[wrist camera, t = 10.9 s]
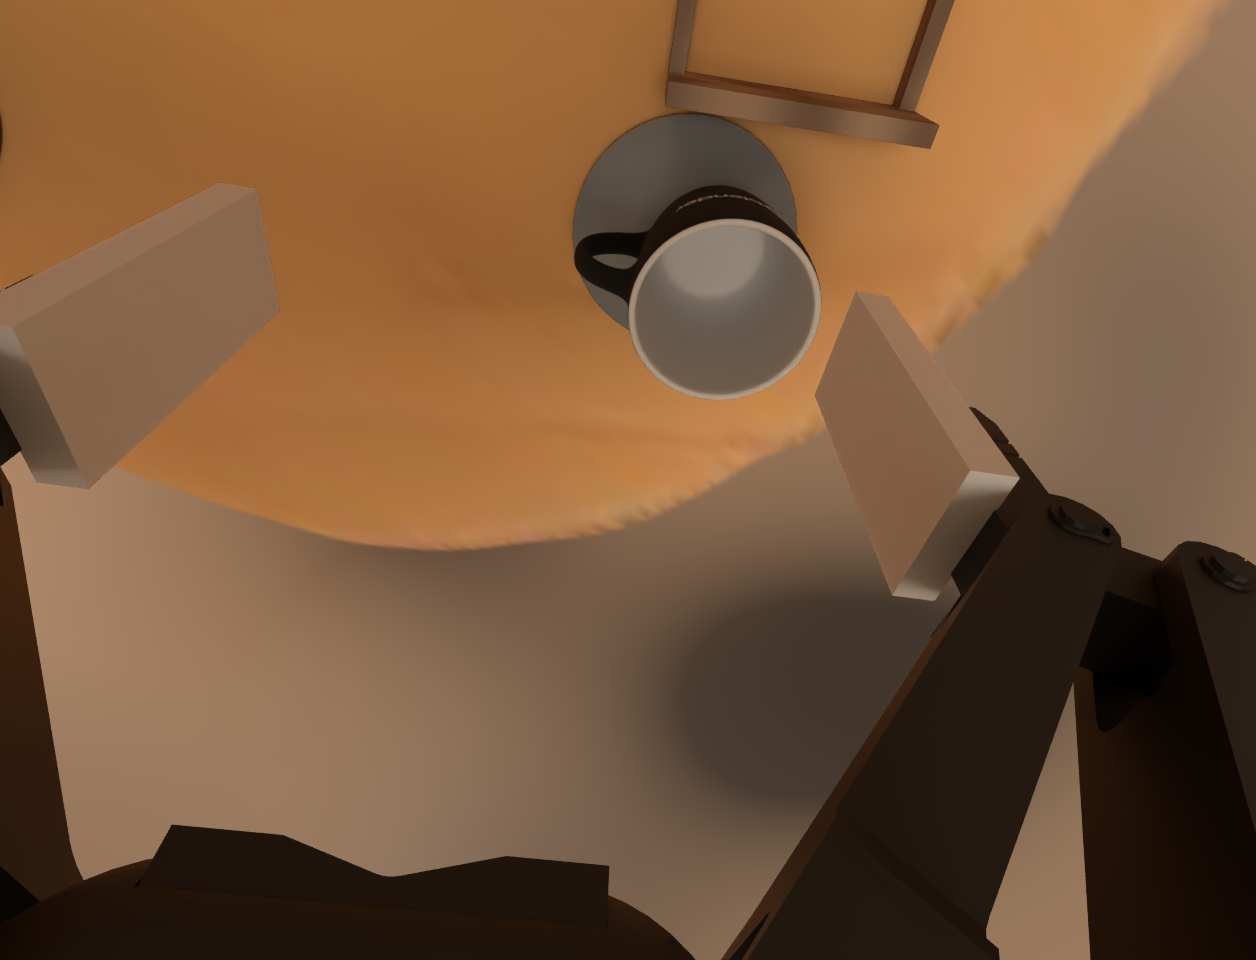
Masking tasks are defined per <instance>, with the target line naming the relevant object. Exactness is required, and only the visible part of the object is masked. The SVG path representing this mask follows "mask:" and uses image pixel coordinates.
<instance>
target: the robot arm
mask: <svg viewBox="0 0 1256 960" xmlns="http://www.w3.org/2000/svg"><path fill="white" fill-rule="evenodd" d="M279 312H280V308H279V303H278V298H277V293H276V287H275V282H274V277H273V271H272V266H271V261H270V256H269V250H268V245H267V240H266V234H265V229H264V224H263V218H262V213H261V208H260V203H259V197H258V192H257V189H254V188H248V187H242V186H237V185H231V184H225V183H217V184H215V185H213V186H211V187H209V188H207V189H205V190H203V191H201V192H199V193H197V194H195V195H193V196H191V197H189V198H187V199H185V200H183V201H181V202H179V203H177V204H175V205H173V206H171V207H169V208H167V209H165V210H163V211H161V212H159V213H157V214H155V215H153V216H151V217H149V218H147V219H145V220H143V221H141V222H139V223H137V224H135V225H133V226H131V227H129V228H127V229H125V230H123V231H121V232H119V233H117V234H115V235H113V236H111V237H109V238H107V239H105V240H103V241H101V242H99V243H97V244H95V245H93V246H91V247H89V248H87V249H85V250H83V251H81V252H79V253H77V254H75V255H73V256H71V257H69V258H67V259H65V260H63V261H61V262H59V263H57V264H55V265H53V266H51V267H49V268H47V269H45V270H43V271H41V272H39V273H37V274H35V275H31V276H29V277H27V278H25V279H23V280H21V281H19V282H17V283H15V284H13V285H11V286H9V287H7V288H5V290H3V291H0V466H1V465H3V464H4V463H5V462H7V461H8V460H9V459H10V458H12V457H13V456H14V455H16V454H17V453H18V452H19V451H20V452H21V454H22V455H23V457H24V459H25V461H26V463H27V464H28V467H29V469H30V470H31V472H32V474H33V476H34V478H35V480H36V482H39V483H47V484H54V485H62V486H69V487H77V488H84V489H89V488H90V487H91V486H93V485H94V484H95V483H96V482H97V481H98V480H99V479H100V478H101V477H102V476H103V475H104V474H105V473H107V472H108V471H109V470H110V469H111V468H112V467H113V466H114V465H115V464H116V463H117V462H118V461H120V460H121V459H122V458H123V457H124V456H125V455H126V454H127V453H128V452H129V451H130V450H131V449H132V448H134V447H135V446H136V445H137V444H138V443H139V442H140V441H141V440H142V439H143V438H144V437H145V436H146V435H147V434H149V433H150V432H151V431H152V430H153V429H154V428H155V427H156V426H157V425H158V424H159V423H160V422H161V421H163V420H164V419H165V418H166V417H167V416H168V415H169V414H170V413H171V412H172V411H173V410H174V409H175V408H177V407H178V406H179V405H180V404H181V403H182V402H183V401H184V400H185V399H186V398H187V397H188V396H189V395H191V394H192V393H193V392H194V391H195V390H196V389H197V388H198V387H199V386H200V385H201V384H202V383H203V382H204V381H206V380H207V379H208V378H209V377H210V376H211V375H212V374H213V373H214V372H215V371H216V370H217V369H218V368H220V367H221V366H222V365H223V364H224V363H225V362H226V361H227V360H228V359H229V358H230V357H231V356H232V355H234V354H235V353H236V352H237V351H238V350H239V349H240V348H241V347H242V346H243V345H244V344H245V343H246V342H247V341H249V340H250V339H251V338H252V337H253V336H254V335H255V334H256V333H257V332H258V331H259V330H260V329H261V328H263V327H264V326H265V325H266V324H267V323H268V322H269V321H270V320H271V319H272V318H273V317H274V316H275V315H277V314H278V313H279ZM815 397H816V399H817V402H818V404H819V407H820V410H821V412H822V415H823V417H824V420H825V423H826V425H827V428H828V430H829V433H830V436H831V438H832V441H833V443H834V446H835V448H836V451H837V454H838V456H839V459H840V461H841V464H842V467H843V469H844V472H845V474H846V477H847V480H848V482H849V485H850V487H851V490H852V492H853V495H854V497H855V500H856V503H857V505H858V508H859V510H860V513H861V516H862V518H863V521H864V524H865V526H866V529H867V531H868V534H869V536H870V539H871V542H872V544H873V547H874V549H875V552H876V555H877V557H878V560H879V562H880V565H881V567H882V570H883V573H884V575H885V578H886V580H887V583H888V586H889V588H890V591H891V593H892V595H894V596H901V597H909V598H916V599H924V600H931V601H935V599H936V598H937V597H938V595H939V594H940V592H941V591H942V589H943V588H944V586H945V585H946V584H947V582H948V581H949V579H950V578H951V576H952V577H953V579H954V581H955V583H956V585H957V587H958V589H959V591H960V594H961V595H960V597H959V598H958V599H957V601H956V602H955V603H954V605H953V606H952V608H951V609H950V610H949V612H948V613H947V614H946V616H945V617H944V619H943V620H942V621H941V623H940V624H939V625H938V627H937V628H936V630H935V631H934V632H933V634H932V635H931V640H930V641H929V643H928V644H927V646H926V648H925V649H924V651H923V652H922V654H921V655H920V657H919V658H918V660H917V661H916V663H915V665H914V666H913V668H912V669H911V671H910V672H909V674H908V675H907V677H906V678H905V680H904V682H903V683H902V685H901V686H900V688H899V689H898V691H897V692H896V694H895V696H894V697H893V699H892V700H891V702H890V703H889V705H888V706H887V708H886V709H885V711H884V712H883V714H882V715H881V717H880V719H879V720H878V722H877V723H876V725H875V726H874V728H873V729H872V731H871V732H870V734H869V736H868V737H867V739H866V740H865V742H864V743H863V745H862V746H861V748H860V750H859V751H858V753H857V754H856V756H855V757H854V759H853V760H852V762H851V763H850V765H849V766H848V768H847V769H846V771H845V773H844V774H843V776H842V777H841V779H840V780H839V782H838V783H837V785H836V786H835V788H834V789H833V791H832V793H831V794H830V796H829V797H828V799H827V800H826V802H825V804H824V805H823V806H822V808H821V810H820V811H819V813H818V814H817V816H816V817H815V819H814V820H813V822H812V823H811V825H810V826H809V828H808V830H807V831H806V833H805V834H804V836H803V837H802V839H801V840H800V842H799V844H798V845H797V847H796V848H795V850H794V851H793V853H792V854H791V856H790V857H789V859H788V860H787V862H786V864H785V865H784V867H783V868H782V870H781V871H780V873H779V874H778V876H777V877H776V879H775V881H774V882H773V884H772V885H771V887H770V888H769V890H768V891H767V893H766V894H765V896H764V897H763V899H762V901H761V902H760V904H759V905H758V907H757V908H756V910H755V911H754V913H753V914H752V916H751V917H750V919H749V920H748V922H747V923H746V925H745V926H744V928H743V929H742V930H741V932H740V933H739V935H738V936H737V937H736V939H735V940H734V942H733V943H732V944H731V946H730V947H729V949H728V950H727V952H726V953H725V955H724V956H723V958H722V959H721V960H1000V959H999V949H998V948H997V947H996V946H995V945H994V944H992V943H991V942H990V941H989V940H988V939H987V938H986V928H987V924H988V920H989V916H990V913H991V910H992V908H993V905H994V902H995V899H996V897H997V894H998V891H999V888H1000V885H1001V882H1002V880H1003V877H1004V874H1005V871H1006V869H1007V865H1008V863H1009V860H1010V857H1011V854H1012V852H1013V849H1014V846H1015V843H1016V840H1017V838H1018V835H1019V832H1020V829H1021V827H1022V824H1023V821H1024V818H1025V815H1026V812H1027V810H1028V807H1029V804H1030V801H1031V799H1032V796H1033V793H1034V790H1035V787H1036V784H1037V782H1038V779H1039V776H1040V773H1041V771H1042V768H1043V765H1044V762H1045V759H1046V757H1047V754H1048V751H1049V748H1050V745H1051V743H1052V739H1053V737H1054V734H1055V731H1056V729H1057V726H1058V723H1059V720H1060V717H1061V715H1062V712H1063V709H1064V706H1065V703H1066V701H1067V698H1068V695H1069V692H1070V689H1071V687H1072V683H1073V682H1074V698H1075V715H1076V731H1077V747H1078V763H1079V780H1080V795H1081V812H1082V828H1083V844H1084V861H1085V877H1086V893H1087V910H1088V926H1089V940H1090V941H1089V942H1090V958H1091V960H1256V566H1255V565H1254V564H1252V563H1251V562H1249V561H1244V559H1245V558H1242V557H1241V556H1239V555H1237V554H1235V553H1232V552H1227V551H1225V550H1223V549H1221V548H1219V547H1216V546H1212V545H1209V544H1206V543H1202V542H1193V541H1185V542H1183V543H1182V544H1179V545H1178V546H1177V547H1176V548H1175V549H1174V550H1173V551H1172V552H1171V553H1170V554H1169V555H1168V556H1167V557H1166V558H1165V559H1164V560H1163V561H1160V560H1157V559H1154V558H1151V557H1149V556H1146V555H1143V554H1140V553H1137V552H1134V551H1131V550H1128V549H1125V548H1122V547H1121V537H1120V535H1119V534H1118V532H1117V531H1116V530H1115V528H1114V527H1113V525H1111V524H1110V523H1109V522H1108V521H1107V520H1106V519H1105V518H1103V517H1102V516H1101V515H1100V514H1098V513H1097V512H1095V511H1093V510H1092V509H1090V508H1088V507H1086V506H1085V505H1083V504H1081V503H1079V502H1076V501H1074V500H1071V499H1069V498H1066V497H1062V496H1058V495H1052V494H1049V493H1048V492H1047V491H1046V489H1045V488H1044V487H1043V485H1042V484H1041V483H1040V481H1039V480H1038V479H1037V477H1036V476H1035V475H1034V473H1033V472H1032V471H1031V469H1030V468H1029V467H1028V466H1027V464H1026V463H1025V462H1024V460H1023V459H1022V458H1019V454H1018V452H1017V451H1016V450H1015V448H1014V447H1013V446H1012V444H1008V442H1009V441H1008V439H1007V438H1006V437H1005V435H1004V434H1003V433H1002V431H1001V430H1000V429H999V427H998V426H997V425H996V424H995V423H994V422H993V421H991V420H990V419H989V418H987V417H986V416H985V415H983V414H982V413H981V412H980V411H978V410H977V409H976V408H972V407H968V406H967V404H966V403H965V402H964V401H963V399H962V397H961V396H960V395H959V393H958V392H957V390H956V389H955V388H954V386H953V385H952V384H951V382H950V381H949V379H948V378H947V377H946V375H945V374H944V373H943V371H942V370H941V369H940V367H939V366H938V364H937V363H936V362H935V360H934V359H933V357H932V356H931V355H930V353H929V352H928V351H927V349H926V348H925V346H924V345H923V344H922V342H921V341H920V339H919V338H918V337H917V335H916V334H915V333H914V331H913V330H912V328H911V327H910V326H909V324H908V323H907V322H906V320H905V319H904V317H903V316H902V315H901V313H900V312H899V311H898V309H897V308H896V306H895V305H894V304H893V302H892V301H891V299H890V298H889V297H888V296H882V295H876V294H870V293H865V292H859V291H856V292H855V295H854V297H853V300H852V302H851V305H850V307H849V310H848V312H847V315H846V318H845V320H844V323H843V325H842V328H841V330H840V333H839V335H838V338H837V340H836V343H835V345H834V348H833V350H832V353H831V355H830V358H829V360H828V363H827V365H826V368H825V370H824V373H823V375H822V378H821V380H820V383H819V385H818V388H817V391H816V393H815ZM608 882H609V866H605V865H595V864H585V863H574V862H563V861H553V860H542V859H532V858H521V857H510V856H505V857H499V858H494V859H488V860H483V861H477V862H472V863H467V864H462V865H456V866H451V867H445V868H440V869H434V870H429V871H424V872H418V873H413V874H408V875H402V876H395V877H387V876H381V875H378V874H375V873H373V872H371V871H368V870H366V869H363V868H361V867H359V866H356V865H353V864H351V863H349V862H347V861H344V860H342V859H339V858H337V857H335V856H332V855H330V854H327V853H325V852H323V851H320V850H318V849H315V848H313V847H310V846H308V845H306V844H303V843H301V842H299V841H296V840H294V839H291V838H289V837H286V836H284V835H276V834H266V833H255V832H245V831H234V830H224V829H213V828H203V827H191V826H181V825H171V827H170V829H169V831H168V833H167V834H166V836H165V838H164V840H163V842H162V843H161V845H160V847H159V849H158V851H157V852H156V854H155V856H154V858H153V859H147V860H143V861H140V862H136V863H133V864H129V865H126V866H122V867H119V868H115V869H112V870H109V871H107V872H104V873H102V874H99V875H96V876H94V877H91V878H89V879H86V880H83V878H82V876H81V874H80V872H79V870H78V867H77V865H76V862H75V859H74V856H73V853H72V849H71V845H70V840H69V834H68V828H67V821H66V815H65V810H64V804H63V797H62V791H61V785H60V779H59V773H58V767H57V761H56V755H55V749H54V743H53V737H52V731H51V725H50V718H49V712H48V707H47V701H46V694H45V689H44V682H43V676H42V670H41V664H40V658H39V652H38V646H37V640H36V634H35V628H34V622H33V616H32V610H31V604H30V597H29V592H28V586H27V580H26V573H25V567H24V562H23V555H22V549H21V543H20V537H19V532H18V525H17V519H16V513H15V507H14V501H13V495H12V489H11V485H10V483H9V481H8V480H7V478H6V476H5V474H4V473H3V471H2V469H1V467H0V960H695V959H694V957H693V956H692V955H691V954H690V953H689V952H688V951H687V950H686V949H685V948H684V947H683V946H682V945H681V944H680V943H679V942H678V941H677V940H676V939H675V938H674V937H673V936H672V935H671V934H670V933H669V932H668V931H667V930H665V929H664V928H663V927H661V926H660V925H659V924H658V923H656V922H655V921H654V920H652V919H651V918H650V917H649V916H647V915H645V914H644V913H642V912H640V911H639V910H637V909H635V908H634V907H632V906H630V905H629V904H627V903H625V902H623V901H621V900H618V899H616V898H614V897H611V896H609V895H608Z"/></svg>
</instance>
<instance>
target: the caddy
mask: <svg viewBox="0 0 1256 960" xmlns="http://www.w3.org/2000/svg"><path fill="white" fill-rule="evenodd" d="M953 3H954V0H928V3H927V5H926V8H925V11H924V14H923V17H922V20H921V23H920V26H919V29H918V32H917V35H916V38H915V41H914V44H913V47H912V50H911V53H910V56H909V58H908V61H907V64H906V67H905V70H904V73H903V76H902V79H901V82H900V85H899V88H898V91H897V94H896V97H895V100H894V103H893V105H887V104H881V103H875V102H869V101H863V100H857V99H851V98H845V97H838V96H832V95H826V94H820V93H814V92H808V91H802V90H796V89H790V88H784V87H777V86H771V85H765V84H759V83H753V82H747V81H741V80H735V79H729V78H723V77H716V76H710V75H704V74H698V73H692V72H686V71H685V69H686V63H687V56H688V50H689V44H690V38H691V31H692V25H693V19H694V13H695V6H696V0H679V2H678V9H677V16H676V23H675V30H674V36H673V43H672V50H671V57H670V64H669V71H668V77H667V84H666V91H665V106H666V107H673V108H679V109H685V110H691V111H697V112H704V113H710V114H716V115H722V116H728V117H735V118H741V119H747V120H753V121H759V122H766V123H772V124H778V125H784V126H790V127H797V128H803V129H809V130H815V131H821V132H828V133H834V134H840V135H846V136H852V137H859V138H865V139H871V140H877V141H883V142H890V143H896V144H902V145H908V146H914V147H921V148H927V149H930V148H931V146H932V143H933V141H934V138H935V135H936V133H937V130H938V128H939V125H938V124H936V123H934V122H933V121H931V120H929V119H927V118H925V117H923V116H922V115H920V114H918V113H916V112H915V109H916V106H917V103H918V100H919V98H920V95H921V92H922V89H923V87H924V84H925V81H926V78H927V75H928V73H929V70H930V67H931V64H932V62H933V59H934V56H935V53H936V50H937V48H938V45H939V42H940V39H941V37H942V34H943V31H944V28H945V25H946V23H947V20H948V17H949V14H950V12H951V9H952V6H953Z"/></svg>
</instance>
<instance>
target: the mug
mask: <svg viewBox="0 0 1256 960" xmlns="http://www.w3.org/2000/svg"><path fill="white" fill-rule="evenodd" d="M603 254H621V255H628V256H632V257H634V258H636V259H638V260H637V261H636V262H635V263H634V265H632V266H631V267H629V268H626V269H620V268H614V267H611V266H608V265H606V264H604V263H602V262H600V261H598V260H596V259H595V258H593V256H597V255H603ZM574 262H575V266H576V269H577V270H578V272H579V273H580V275H581V276H582V277H583V278H584V279H586V280H587V281H588V282H590V283H592V284H593V285H595V286H597V287H599V288H601V289H604V290H606V291H608V292H611V293H613V294H615V295H617V296H619V297H620V298H622V299H623V300H624V301H625V302H626V303H627V305H628V324H629V330H630V335H631V338H632V342H633V344H634V347H635V349H636V351H637V353H638V355H639V357H640V359H641V360H642V362H643V363H644V365H645V366H646V367H647V368H648V370H649V371H650V372H651V373H652V374H653V375H654V376H655V377H656V378H658V379H659V380H660V381H661V382H663V383H664V384H666V385H667V386H669V387H670V388H672V389H674V390H676V391H678V392H681V393H683V394H686V395H689V396H692V397H696V398H701V399H709V400H727V399H735V398H740V397H744V396H748V395H751V394H754V393H757V392H759V391H761V390H763V389H766V388H768V387H769V386H771V385H773V384H774V383H776V382H778V381H779V380H780V379H782V378H783V377H784V376H786V375H787V374H788V373H789V372H790V371H791V370H792V369H793V368H794V367H795V366H796V365H797V364H798V363H799V362H800V360H801V359H802V358H803V356H804V355H805V353H806V352H807V351H808V349H809V347H810V345H811V343H812V341H813V339H814V337H815V334H816V331H817V328H818V325H819V320H820V315H821V289H820V284H819V279H818V276H817V273H816V270H815V268H814V265H813V263H812V261H811V259H810V257H809V255H808V253H807V251H806V250H805V248H804V246H803V245H802V243H801V241H800V240H799V238H798V237H797V236H796V234H795V233H794V232H793V230H792V229H791V228H790V227H789V225H788V224H787V223H786V222H785V221H784V220H783V219H782V218H781V217H780V216H779V214H778V213H777V212H776V211H775V210H773V209H772V208H771V207H770V206H769V205H768V204H766V203H765V202H764V201H762V200H761V199H759V198H758V197H756V196H755V195H753V194H751V193H749V192H747V191H744V190H742V189H739V188H735V187H731V186H722V185H714V186H706V187H701V188H698V189H695V190H692V191H690V192H688V193H686V194H684V195H682V196H681V197H679V198H678V199H676V200H675V201H674V202H672V203H671V204H670V205H669V206H668V207H667V208H666V209H665V210H664V211H663V212H662V213H661V215H660V216H659V217H658V219H657V220H656V221H655V223H654V224H653V226H652V227H651V229H649V230H648V231H645V232H639V233H623V232H604V233H596V234H592V235H589V236H586V237H585V238H583V239H582V240H581V241H580V242H579V243H578V245H577V247H576V249H575V254H574Z"/></svg>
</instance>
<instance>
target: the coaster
mask: <svg viewBox="0 0 1256 960" xmlns="http://www.w3.org/2000/svg"><path fill="white" fill-rule="evenodd" d="M714 185H722V186H731V187H735V188H739V189H742V190H744V191H747V192H749V193H751V194H753V195H755V196H756V197H758V198H759V199H761V200H762V201H764V202H765V203H766V204H768V205H769V206H770V207H771V208H772V209H773V210H775V211H776V212H777V213H778V214H779V216H780V217H781V218H782V219H783V220H784V221H785V222H786V223H787V224H788V225H789V227H790V228H791V229H792V230H793V232H794V233H795V234H796V231H797V221H796V209H795V203H794V197H793V194H792V191H791V188H790V185H789V182H788V180H787V178H786V176H785V174H784V171H783V169H782V168H781V166H780V165H779V163H778V162H777V160H776V159H775V157H774V156H773V154H772V153H771V152H770V151H769V149H768V148H767V147H766V146H765V145H764V144H763V143H762V142H761V141H760V140H759V139H757V138H756V137H755V136H754V135H753V134H751V133H750V132H749V131H747V130H745V129H744V128H742V127H740V126H739V125H737V124H735V123H732V122H730V121H728V120H725V119H723V118H719V117H715V116H711V115H707V114H697V113H681V114H671V115H667V116H662V117H658V118H655V119H652V120H650V121H647V122H644V123H642V124H640V125H638V126H636V127H635V128H633V129H631V130H629V131H628V132H626V133H625V134H624V135H622V136H621V137H619V138H618V139H617V140H615V141H614V142H613V143H612V144H611V145H610V146H609V147H608V148H607V149H606V150H605V151H604V152H603V154H602V155H601V156H600V158H599V159H598V160H597V161H596V163H595V164H594V166H593V167H592V169H591V171H590V172H589V174H588V176H587V178H586V180H585V182H584V185H583V187H582V189H581V192H580V194H579V198H578V201H577V205H576V208H575V215H574V222H573V244H574V253H575V249H576V247H577V245H578V243H579V242H580V241H581V240H582V239H583V238H585V237H586V236H589V235H592V234H596V233H604V232H623V233H639V232H645V231H648V230H649V229H651V227H652V226H653V224H654V223H655V221H656V220H657V219H658V217H659V216H660V215H661V213H662V212H663V211H664V210H665V209H666V208H667V207H668V206H669V205H670V204H671V203H672V202H674V201H675V200H676V199H678V198H679V197H681V196H682V195H684V194H686V193H688V192H690V191H692V190H695V189H698V188H701V187H706V186H714ZM593 258H595V259H596V260H598V261H600V262H602V263H604V264H606V265H608V266H611V267H614V268H620V269H626V268H629V267H631V266H632V265H634V263H635V262H636V261H637V260H638V259H636V258H634V257H632V256H628V255H621V254H603V255H597V256H593ZM581 277H582V276H581ZM582 279H583V282H584V283H585V285H586V287H587V289H588V291H589V293H590V294H591V295H592V297H593V298H594V300H595V301H596V302H597V304H598V305H599V306H600V307H601V308H602V309H603V310H604V311H605V313H606V314H608V315H609V316H610V317H611V318H612V319H613V320H615V321H616V322H617V323H619V324H620V325H622V326H623V327H625V328H626V329H628V330H629V324H628V305H627V303H626V302H625V301H624V300H623V299H622V298H620V297H619V296H617V295H615V294H613V293H611V292H608V291H606V290H604V289H601V288H599V287H597V286H595V285H593V284H592V283H590V282H588V281H587V280H586V279H584V278H583V277H582Z"/></svg>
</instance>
